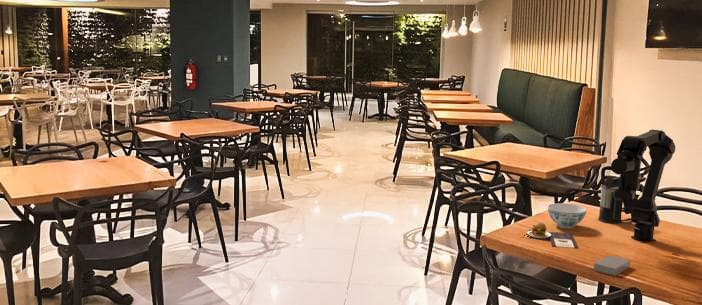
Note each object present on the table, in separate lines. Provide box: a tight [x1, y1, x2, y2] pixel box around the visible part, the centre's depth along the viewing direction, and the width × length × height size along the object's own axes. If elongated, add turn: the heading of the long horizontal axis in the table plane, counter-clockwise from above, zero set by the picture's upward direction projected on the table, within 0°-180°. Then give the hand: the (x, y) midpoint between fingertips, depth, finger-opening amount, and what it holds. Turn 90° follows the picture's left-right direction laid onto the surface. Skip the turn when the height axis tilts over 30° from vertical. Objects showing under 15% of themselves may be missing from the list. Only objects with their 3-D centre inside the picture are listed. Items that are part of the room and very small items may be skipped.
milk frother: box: [597, 184, 631, 224], centre depth 267 cm, size 14×16×15 cm
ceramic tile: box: [593, 255, 631, 277], centre depth 211 cm, size 3×7×12 cm
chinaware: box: [547, 202, 587, 230], centre depth 259 cm, size 15×15×8 cm
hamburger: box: [522, 221, 551, 243], centre depth 247 cm, size 12×12×6 cm
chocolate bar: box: [547, 231, 579, 249], centre depth 242 cm, size 9×1×18 cm
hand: (626, 214), depth 230 cm, fingers closed
